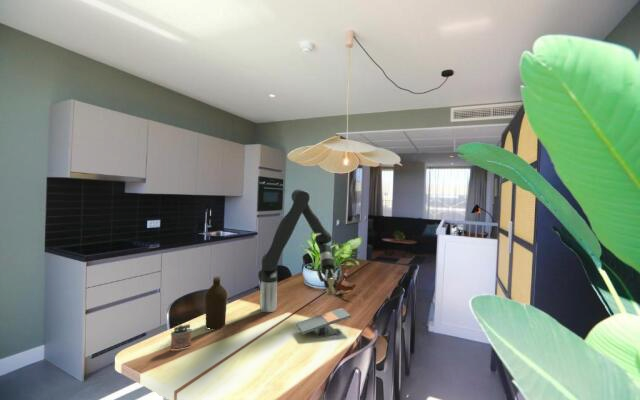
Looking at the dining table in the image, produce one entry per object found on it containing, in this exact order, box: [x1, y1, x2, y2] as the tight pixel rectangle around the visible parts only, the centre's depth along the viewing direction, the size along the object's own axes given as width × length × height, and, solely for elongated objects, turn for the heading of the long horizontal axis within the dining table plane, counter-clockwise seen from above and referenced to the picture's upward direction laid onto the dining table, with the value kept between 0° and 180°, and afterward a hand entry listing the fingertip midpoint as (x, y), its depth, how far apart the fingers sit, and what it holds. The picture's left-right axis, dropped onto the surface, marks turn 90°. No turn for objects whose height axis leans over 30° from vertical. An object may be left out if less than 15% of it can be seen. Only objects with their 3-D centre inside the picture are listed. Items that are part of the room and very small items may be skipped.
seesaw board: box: [295, 307, 352, 335], centre depth 143 cm, size 26×10×1 cm, turn 113°
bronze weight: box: [325, 277, 335, 296], centre depth 160 cm, size 4×4×9 cm
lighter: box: [170, 324, 193, 350], centre depth 124 cm, size 8×3×10 cm, turn 117°
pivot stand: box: [312, 325, 338, 339], centre depth 143 cm, size 10×12×5 cm
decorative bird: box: [334, 267, 357, 296], centre depth 202 cm, size 28×18×15 cm, turn 35°
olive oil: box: [204, 275, 228, 330], centre depth 146 cm, size 11×11×25 cm
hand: (331, 287), depth 158 cm, fingers closed on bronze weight, 4 cm apart
